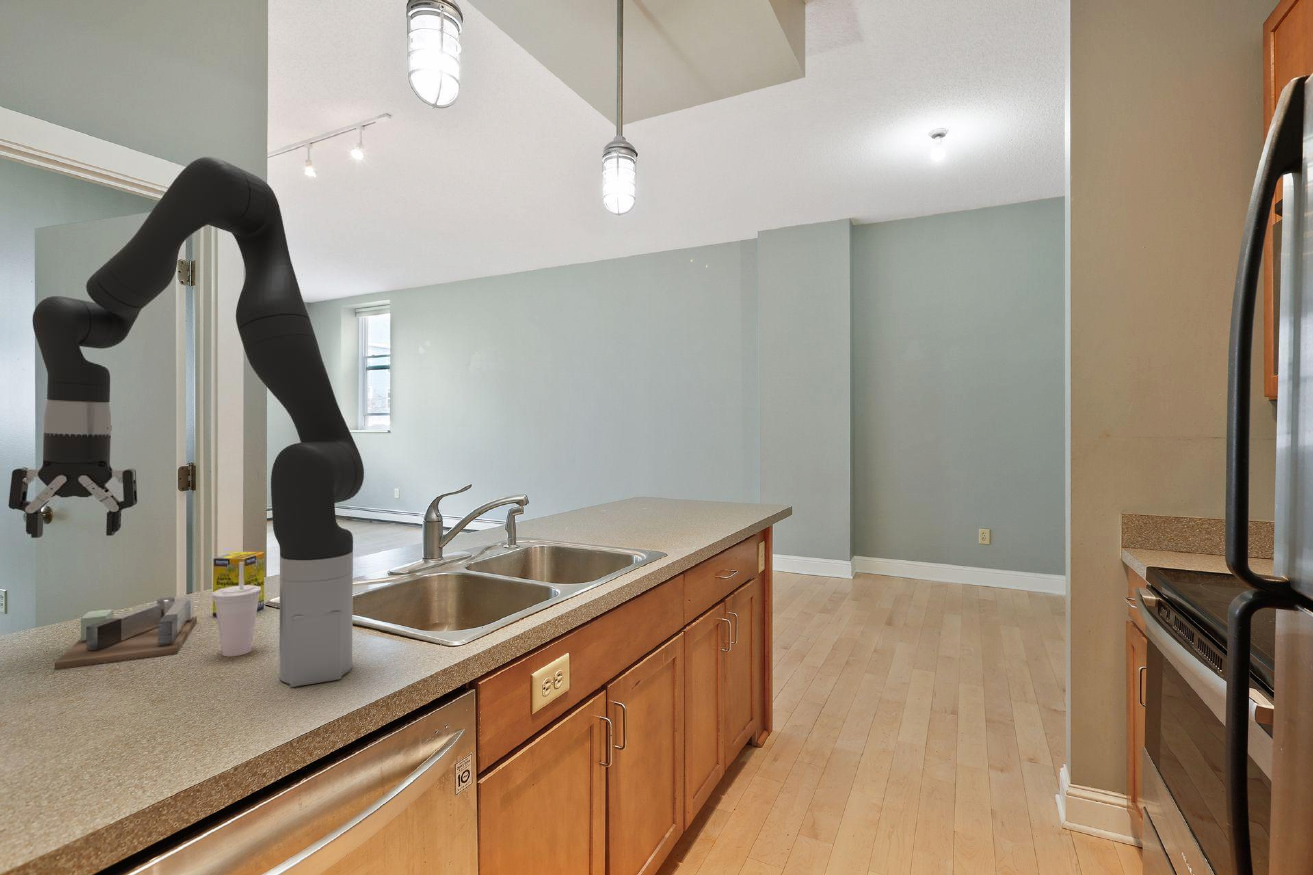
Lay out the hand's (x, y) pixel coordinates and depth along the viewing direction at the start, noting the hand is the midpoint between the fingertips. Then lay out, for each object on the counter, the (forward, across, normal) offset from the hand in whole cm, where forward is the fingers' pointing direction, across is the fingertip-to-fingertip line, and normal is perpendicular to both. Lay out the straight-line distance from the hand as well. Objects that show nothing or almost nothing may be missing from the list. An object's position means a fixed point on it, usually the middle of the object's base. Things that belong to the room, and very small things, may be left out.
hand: (74, 535), depth 95 cm
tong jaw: (+16, +7, 0) cm, 18 cm away
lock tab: (+17, +2, +2) cm, 17 cm away
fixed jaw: (+16, +12, 0) cm, 20 cm away
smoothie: (+17, +22, -12) cm, 30 cm away
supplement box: (+18, +21, +11) cm, 29 cm away
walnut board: (+18, +8, 0) cm, 19 cm away
